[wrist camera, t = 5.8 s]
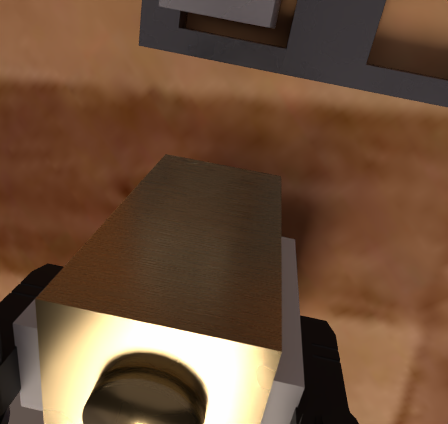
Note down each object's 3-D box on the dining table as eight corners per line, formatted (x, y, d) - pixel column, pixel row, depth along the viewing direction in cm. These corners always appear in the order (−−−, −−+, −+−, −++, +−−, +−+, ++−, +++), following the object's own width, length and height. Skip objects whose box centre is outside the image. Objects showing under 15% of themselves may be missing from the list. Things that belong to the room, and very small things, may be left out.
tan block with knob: (156, 252, 19) (35, 473, 10) (165, 154, 17) (20, 314, 7) (258, 273, 19) (236, 521, 9) (281, 176, 17) (282, 372, 7)
